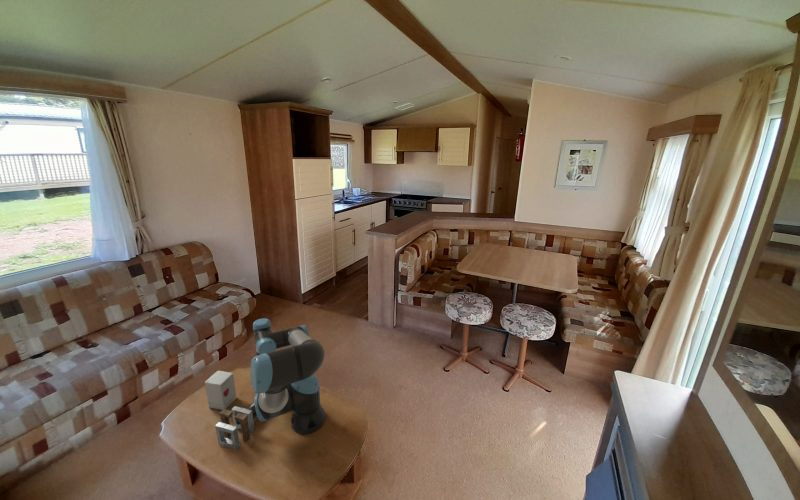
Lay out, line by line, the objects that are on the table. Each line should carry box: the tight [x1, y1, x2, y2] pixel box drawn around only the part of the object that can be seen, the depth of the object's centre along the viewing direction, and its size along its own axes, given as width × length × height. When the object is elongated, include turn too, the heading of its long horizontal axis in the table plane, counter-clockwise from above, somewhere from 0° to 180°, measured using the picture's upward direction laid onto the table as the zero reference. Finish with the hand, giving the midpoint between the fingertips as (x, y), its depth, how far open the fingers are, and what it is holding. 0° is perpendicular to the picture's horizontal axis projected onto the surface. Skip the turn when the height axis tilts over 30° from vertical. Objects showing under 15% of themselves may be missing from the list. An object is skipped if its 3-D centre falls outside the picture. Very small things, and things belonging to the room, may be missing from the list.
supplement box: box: [204, 370, 237, 411], centre depth 155 cm, size 9×9×15 cm
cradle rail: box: [253, 413, 259, 424], centre depth 152 cm, size 4×15×3 cm, turn 165°
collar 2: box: [230, 405, 256, 434], centre depth 141 cm, size 9×2×10 cm, turn 75°
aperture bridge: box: [219, 408, 251, 443], centre depth 137 cm, size 12×2×12 cm, turn 75°
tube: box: [247, 401, 256, 415], centre depth 149 cm, size 16×4×4 cm, turn 165°
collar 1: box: [214, 421, 241, 451], centre depth 133 cm, size 9×2×10 cm, turn 75°
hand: (270, 390), depth 158 cm, fingers closed
